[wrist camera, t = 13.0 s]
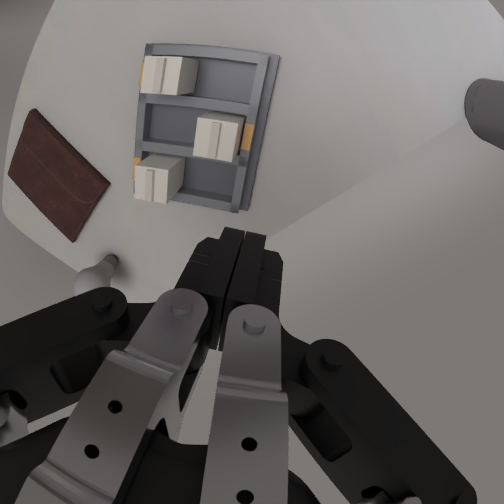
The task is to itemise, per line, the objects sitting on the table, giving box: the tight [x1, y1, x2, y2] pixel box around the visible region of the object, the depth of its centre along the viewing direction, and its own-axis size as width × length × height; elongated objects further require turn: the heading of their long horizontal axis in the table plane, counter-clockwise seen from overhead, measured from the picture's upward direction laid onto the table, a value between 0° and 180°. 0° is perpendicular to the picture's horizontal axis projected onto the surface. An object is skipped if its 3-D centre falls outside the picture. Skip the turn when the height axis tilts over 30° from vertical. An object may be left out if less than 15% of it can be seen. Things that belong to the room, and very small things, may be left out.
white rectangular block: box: [193, 111, 246, 162], centre depth 29 cm, size 4×4×7 cm
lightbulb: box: [73, 255, 118, 296], centre depth 41 cm, size 6×6×11 cm
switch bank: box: [133, 44, 280, 213], centre depth 32 cm, size 16×20×4 cm
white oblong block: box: [135, 152, 186, 204], centre depth 32 cm, size 4×4×7 cm
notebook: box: [8, 109, 111, 243], centre depth 38 cm, size 15×20×2 cm
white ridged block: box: [140, 56, 200, 95], centre depth 26 cm, size 4×4×7 cm
